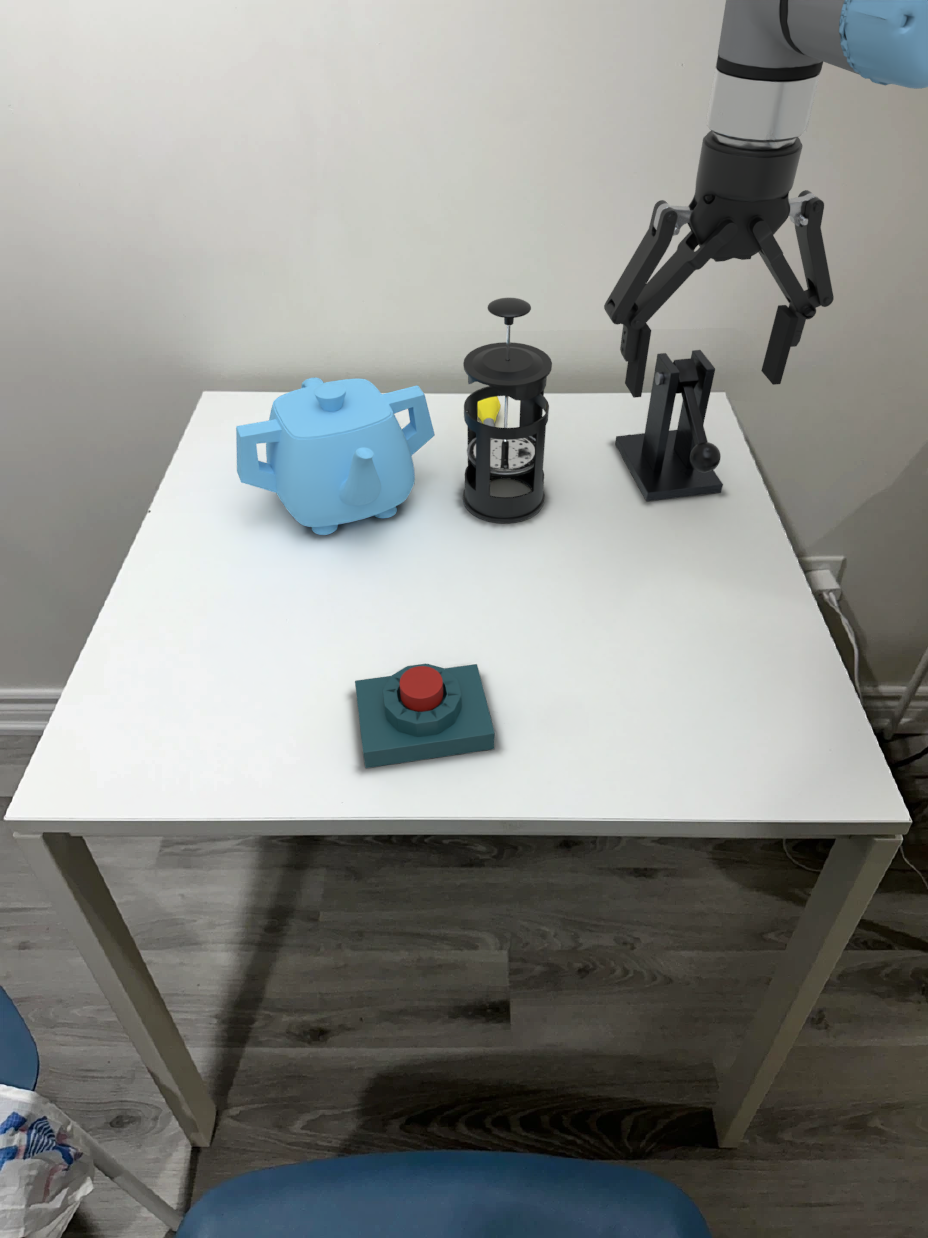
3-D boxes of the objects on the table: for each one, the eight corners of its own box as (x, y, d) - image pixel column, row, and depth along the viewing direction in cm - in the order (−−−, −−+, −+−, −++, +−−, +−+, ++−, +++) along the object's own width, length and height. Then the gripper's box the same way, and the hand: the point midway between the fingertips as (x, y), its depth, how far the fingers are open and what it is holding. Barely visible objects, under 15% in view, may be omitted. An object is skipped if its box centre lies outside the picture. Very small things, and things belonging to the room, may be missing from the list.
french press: (513, 537, 93) (521, 337, 76) (443, 508, 96) (436, 312, 80) (567, 484, 99) (584, 291, 83) (499, 459, 103) (504, 270, 87)
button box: (494, 749, 72) (495, 719, 70) (365, 768, 71) (360, 739, 68) (476, 679, 78) (477, 649, 75) (357, 696, 77) (352, 666, 74)
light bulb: (493, 407, 112) (502, 388, 109) (497, 442, 109) (507, 423, 106) (468, 402, 111) (478, 383, 108) (472, 438, 108) (481, 419, 105)
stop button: (446, 708, 71) (445, 695, 70) (403, 714, 70) (402, 701, 69) (439, 676, 73) (439, 663, 72) (398, 682, 73) (397, 668, 72)
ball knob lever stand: (721, 492, 98) (748, 384, 88) (646, 501, 97) (665, 393, 87) (684, 436, 106) (704, 332, 97) (614, 444, 105) (628, 339, 96)
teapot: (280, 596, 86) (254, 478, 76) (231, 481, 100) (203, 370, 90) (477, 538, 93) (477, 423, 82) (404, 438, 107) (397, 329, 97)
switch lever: (717, 476, 92) (728, 462, 89) (689, 479, 91) (699, 465, 88) (689, 372, 95) (699, 355, 92) (662, 374, 95) (670, 358, 92)
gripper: (880, 112, 69) (809, 354, 84) (584, 129, 67) (564, 375, 82) (930, 139, 64) (845, 391, 79) (610, 158, 62) (584, 416, 76)
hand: (702, 384), depth 80 cm, fingers open, 13 cm apart
